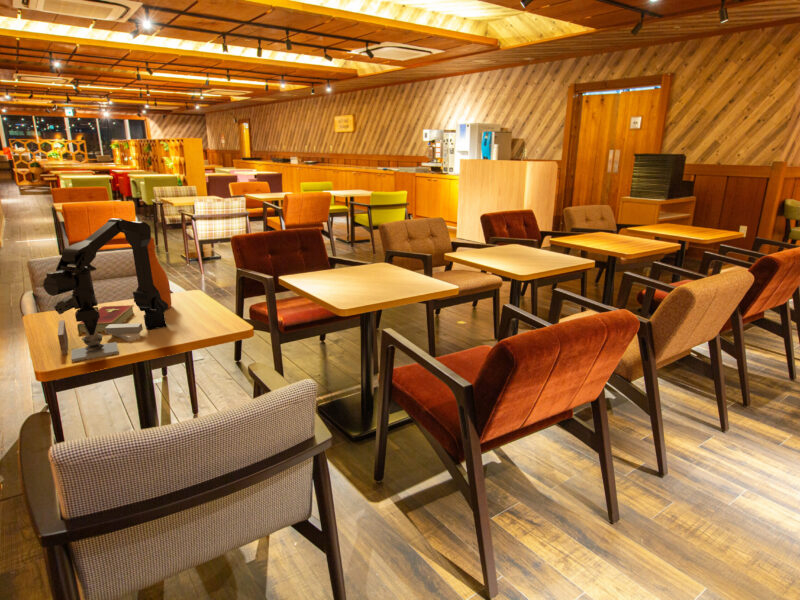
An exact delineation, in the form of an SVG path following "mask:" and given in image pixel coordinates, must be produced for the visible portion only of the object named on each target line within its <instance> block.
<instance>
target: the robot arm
mask: <svg viewBox="0 0 800 600" xmlns="http://www.w3.org/2000/svg"><path fill="white" fill-rule="evenodd" d="M151 230H152V229H151V226H150V224H148V223H147V222H145V221H134V220H133V221H132V220H126V219H123V218H113V217H112V218H109V219H108V220H107V222H106V223H105V224H103V225H102V226H100V227H99V228H98V229H97V230H96V231H94V232H93V233H91V235H89V236H88V237H86V239H84V240H82V241H79V242H76V243H74V244H71V245H69V246H67V247H66V248H64V249H63V250H62V252H61V257H60V259H59V261H58V264H57V266H56V267H55V271H54V272H51V271H50V272H47V273H45V276H46V277H44V278H45V279H44V280H43V284H42V286H43V290H45V292H46V294H47V295H49V296H52V297H55V296H58V295H62V294H64V293H68V292H71V294H70V295H68V296H64V297H63V298H60V299H59V300H56V301H54V302H53V303H52V306H53V308H54V309H55V312H57V313H58V315H63V314H64V313H65V312H68V311H69V310H71V309H73V308H74V310H76V311H75V312H74V316H75V322H78V323H80V322H81V321H82V322H84V324H85V326H86V328H87V330H88V332H89V334H90V335H94V333H95V329H96V325H97V322H98V318H100V315H99V310H98V309H99V307H98V305H99V303H98V298H97V297H96V293H95V288H94V284H93V278H92V273H91V272H94V271H96V270H97V267H96V266H93V265H92V262H93V261H94V259H96V256H97V253H98V252H99V250H100V249H102V248H104V246H106V244H108V243H109V242H110V241H111V240H113V239H114V238H115V237H116V236H118V235H119V234H120V233H121V234H124V237H125V240H126V242H127V243H128V245H130V246H131V249H132V255H133V262H134V267H135V274H136V279H137V285H138V286H137V288H136V290H134V291H133V292H132V295H133V303H134V304H135V306H137V307H138V309H139V311H140V312H144V314H143V320H144V326H145V328H147V330H154V329H160V328H166V327H168V326H167V325H168V324H167V322H166V316H165V312H166V311H168V310H169V308H168V304H167V303H166V302H165V301H163V300H162V299H161V297H160V293H159V291H158V290H157V288H156V287H155V286H154V284H153V278H152V272H151V265H150V259H149V253H148V244H149V242H150V240H151V237H152V231H151Z"/></svg>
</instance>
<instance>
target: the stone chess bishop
mask: <svg viewBox="0 0 800 600" xmlns="http://www.w3.org/2000/svg"><path fill="white" fill-rule="evenodd" d="M96 326H97V325H96ZM84 328H85V330H86V332H85V336H83V337H82V338H81V340H82V341H83V343H84V344H85V345H87V346H86V348H85V350H89V351H91V350H97V349H100V348H102V347H103V346H104V345H103V344H104V343H101V342H102V340H103V337H104V335H103V334H102V333H99V332H97V330H96V329H95V333H94V335H90V334H89V332H88V330H87V328H86V326H84Z"/></svg>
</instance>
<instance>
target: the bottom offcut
mask: <svg viewBox="0 0 800 600" xmlns="http://www.w3.org/2000/svg"><path fill="white" fill-rule="evenodd" d="M111 336H113V337H114V336H115V337H117V338H120V339H122V340H123V341H127V342H133V341H136V339H137V340H140V339H141V332H140V333H130V334H111ZM139 338H140V339H139Z"/></svg>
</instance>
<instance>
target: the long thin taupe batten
mask: <svg viewBox="0 0 800 600" xmlns="http://www.w3.org/2000/svg"><path fill="white" fill-rule="evenodd" d="M57 337H58V343H59V348H60V352H61V356H65V355H68V353H69V352H68V349H69V348H68V345H69V338H68V337H69V336H68V332H67V327H66V323H65V319H64V320H58V328H57Z"/></svg>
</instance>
